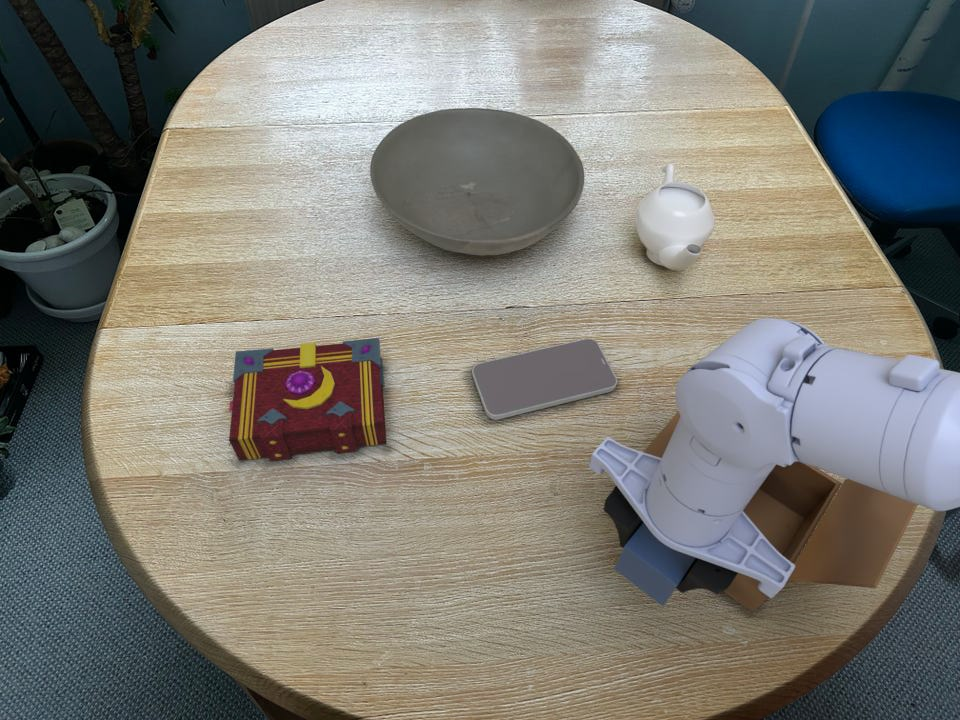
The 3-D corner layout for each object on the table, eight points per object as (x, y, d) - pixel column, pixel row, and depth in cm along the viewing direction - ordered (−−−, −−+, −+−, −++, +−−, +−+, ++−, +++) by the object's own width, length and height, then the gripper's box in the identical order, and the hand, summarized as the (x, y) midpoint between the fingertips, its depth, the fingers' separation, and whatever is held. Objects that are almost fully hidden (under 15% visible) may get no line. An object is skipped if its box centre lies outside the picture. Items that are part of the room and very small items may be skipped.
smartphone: (469, 364, 75) (594, 335, 78) (469, 369, 76) (593, 341, 78) (489, 418, 70) (620, 385, 73) (488, 423, 71) (619, 390, 74)
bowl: (362, 286, 83) (354, 235, 77) (388, 153, 101) (383, 102, 94) (583, 294, 83) (593, 243, 77) (570, 159, 101) (578, 109, 94)
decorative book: (388, 448, 69) (384, 421, 65) (227, 467, 67) (212, 440, 63) (382, 362, 76) (378, 333, 72) (236, 377, 74) (223, 348, 70)
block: (692, 564, 54) (708, 541, 50) (662, 607, 52) (677, 585, 48) (644, 529, 55) (656, 504, 52) (613, 569, 53) (624, 545, 50)
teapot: (688, 206, 94) (706, 149, 87) (714, 311, 82) (738, 255, 75) (619, 204, 94) (633, 146, 87) (635, 308, 82) (652, 251, 75)
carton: (808, 519, 65) (845, 479, 59) (751, 612, 59) (786, 578, 53) (675, 433, 71) (696, 387, 65) (612, 509, 65) (628, 468, 59)
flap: (844, 479, 59) (846, 481, 59) (785, 577, 53) (787, 580, 53) (930, 473, 52) (932, 476, 52) (873, 585, 47) (876, 588, 47)
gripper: (846, 501, 41) (766, 583, 51) (642, 374, 47) (609, 471, 57) (795, 587, 37) (722, 656, 48) (583, 438, 43) (559, 529, 54)
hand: (657, 560), depth 52 cm, fingers closed on block, 4 cm apart
